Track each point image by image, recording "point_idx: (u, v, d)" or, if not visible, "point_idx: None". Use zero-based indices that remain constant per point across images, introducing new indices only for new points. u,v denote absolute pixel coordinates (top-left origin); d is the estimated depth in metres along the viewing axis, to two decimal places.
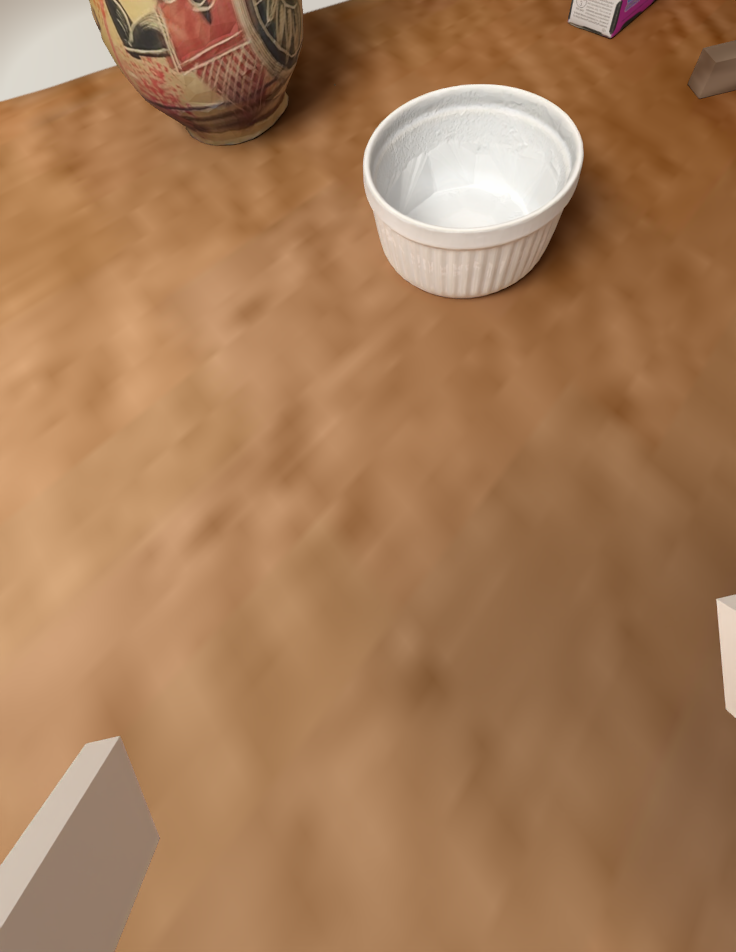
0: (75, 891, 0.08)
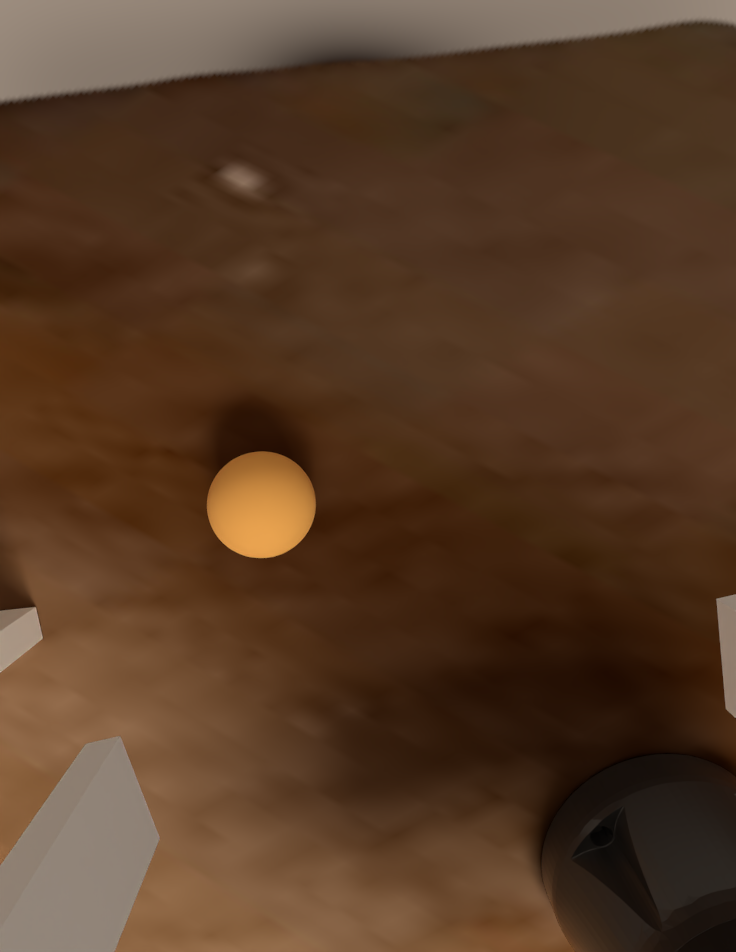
0: (74, 891, 0.08)
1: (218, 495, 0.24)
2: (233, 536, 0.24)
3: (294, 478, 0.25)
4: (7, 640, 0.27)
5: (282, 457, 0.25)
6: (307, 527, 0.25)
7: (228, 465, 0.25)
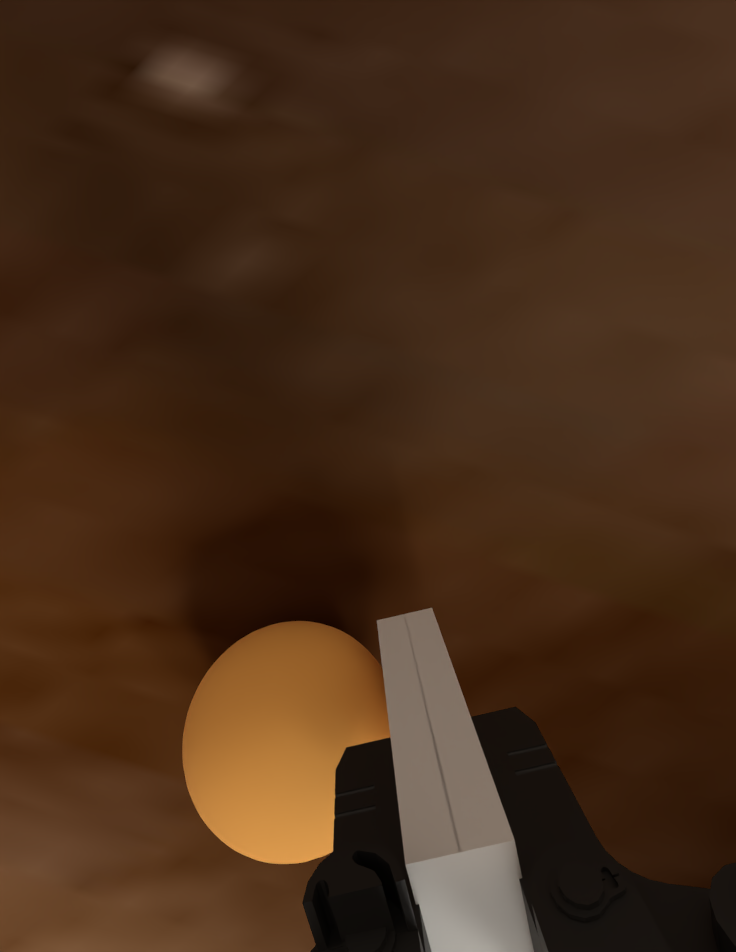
0: None
1: (185, 755, 0.12)
2: (224, 842, 0.11)
3: (333, 713, 0.11)
4: None
5: (312, 650, 0.12)
6: None
7: (209, 676, 0.12)
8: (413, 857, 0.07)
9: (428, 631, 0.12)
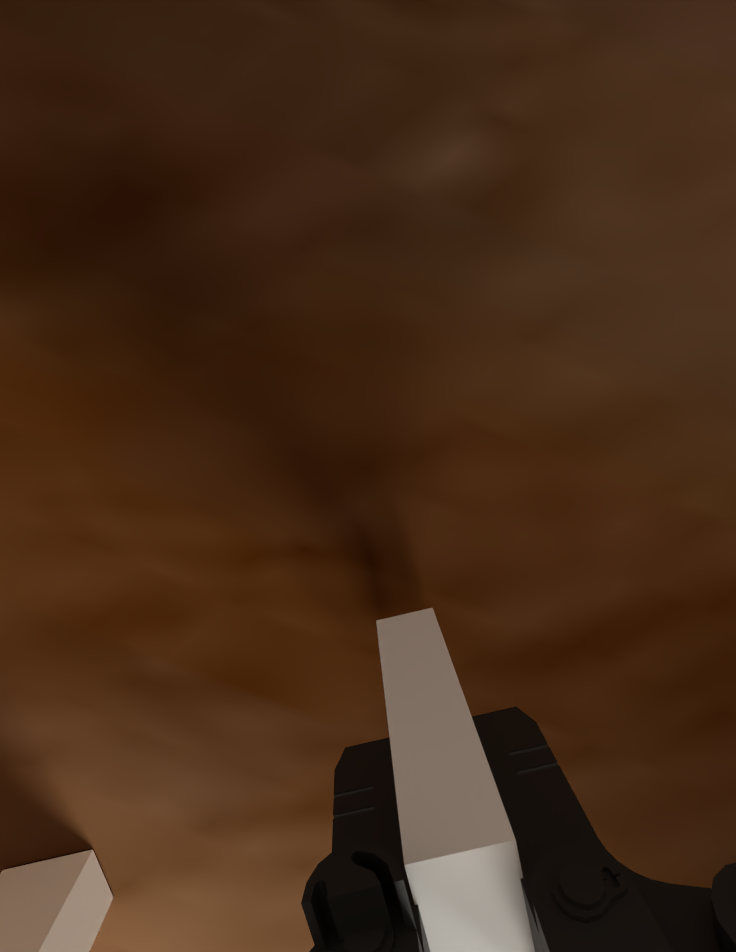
0: None
1: None
2: None
3: None
4: None
5: None
6: None
7: None
8: (411, 858, 0.07)
9: (429, 631, 0.12)
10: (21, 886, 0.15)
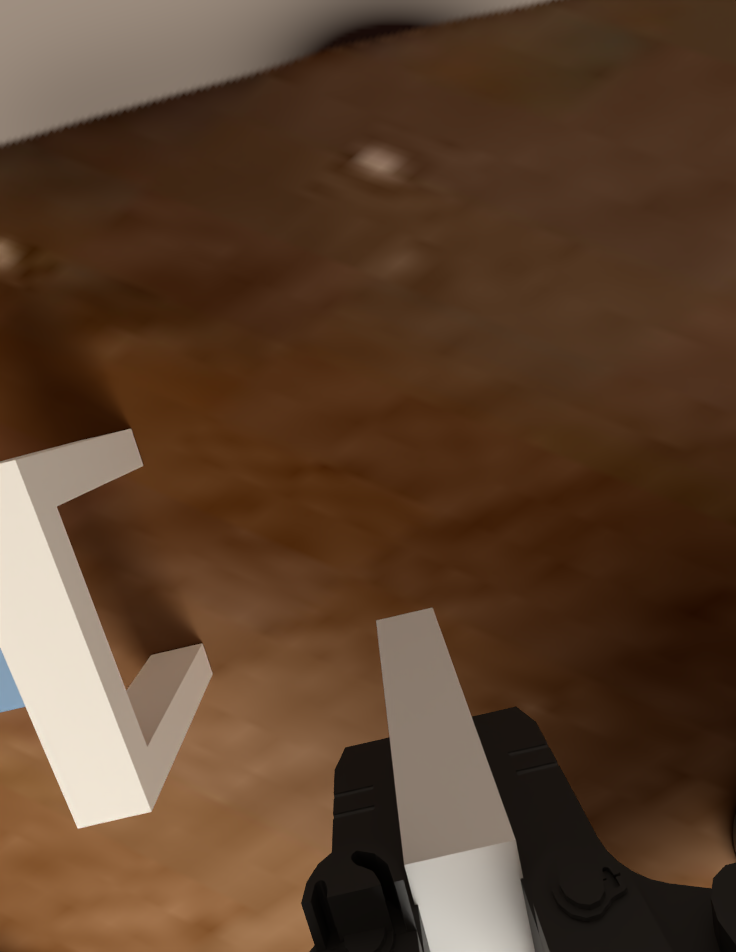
0: None
1: None
2: None
3: None
4: (191, 683, 0.26)
5: None
6: None
7: None
8: (412, 857, 0.07)
9: (429, 631, 0.12)
10: (165, 658, 0.28)
